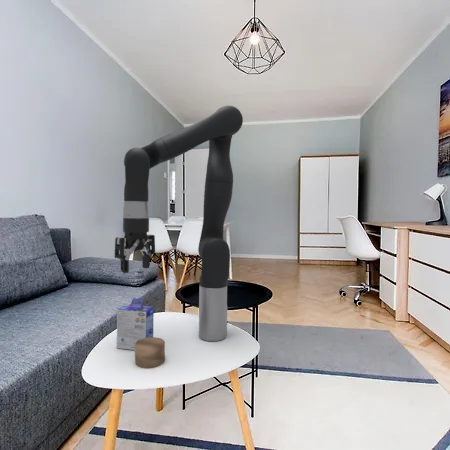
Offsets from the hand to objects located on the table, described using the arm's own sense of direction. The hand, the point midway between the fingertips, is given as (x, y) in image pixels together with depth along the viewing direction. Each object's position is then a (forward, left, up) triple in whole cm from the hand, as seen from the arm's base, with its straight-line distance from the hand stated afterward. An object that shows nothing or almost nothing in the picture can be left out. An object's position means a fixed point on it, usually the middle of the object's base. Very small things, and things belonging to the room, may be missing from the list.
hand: (135, 270), depth 95 cm
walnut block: (+4, +10, -24) cm, 26 cm away
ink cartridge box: (0, 0, -24) cm, 24 cm away
